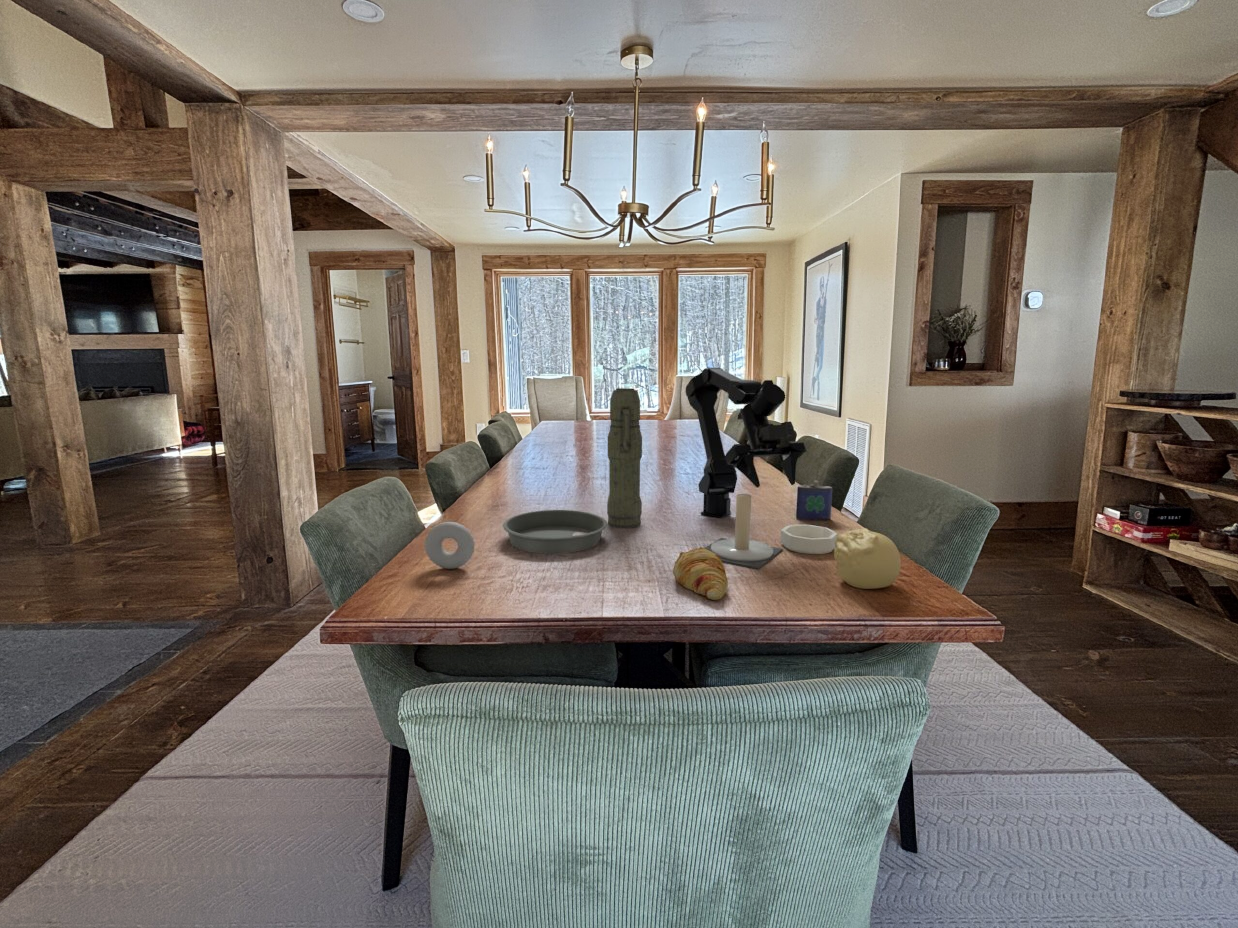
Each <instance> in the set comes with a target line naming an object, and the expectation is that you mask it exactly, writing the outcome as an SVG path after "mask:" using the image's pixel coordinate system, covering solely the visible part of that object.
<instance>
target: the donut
mask: <svg viewBox="0 0 1238 928" xmlns="http://www.w3.org/2000/svg"><path fill="white" fill-rule="evenodd" d="M446 539H451V540H454V541H455V542H456V543H457V544H456V545H457V548H456V550H455V551H453V552H448V551H446V550H445V549H444V547H443V542H444V541H445V540H446ZM474 540H475V539H474V536H473V535H472V532H471V531H470V530H469V529H468V528H467V527H466V526H465V525H462V524H460V523H458V522H454V521H445V522H444V521H443V522H441V523H438V524H437V525H435V526H433V527H432V528H431V529H430V530H429V531H428V533H427V536H426V538H425V541H424V542H425V543H424V549H425V552H426V555H427V557H428V559H429V560H430V562H432V563H433V564H435V565H436V566H438V567H439V568H442V569H447V570H455V569H458V568H460V567H462V566H465V565H466V564H467V563H468V562H469V561H470V560H471V559H472V557H473V554H474V552H475V541H474Z"/></svg>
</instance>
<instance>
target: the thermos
mask: <svg viewBox="0 0 1238 928" xmlns="http://www.w3.org/2000/svg"><path fill="white" fill-rule="evenodd" d="M609 420H610V425H609V432H608V434H607V458H608V461H609V462H608V463H609V468H608V469H609V471H608V472H609V478H608V479H609V482H608V483H609V494H608V498H607V502H606V504H607V507H606V509H607V517H608V519H607V525H608V526H611V527H613V528H619V529H631V528H636V527H639V526H641V524H642V521H641V520H642V517H641V516H642V514H643V513H642V511H643V510H642V508H643V505H642V504H643V503H642V499H641V493H640V491H641V488H640V487H641V486H640V485H641V459H642V456H643V436H642V431H641V425H640V420H641V399H640V396H639V392H638V390H636V389H635V388H630V387H629V388H628V387H627V388H626V387H625V388H622V387H621V388H616V389H615V390H612V393H611V397H610V401H609Z"/></svg>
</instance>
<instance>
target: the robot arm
mask: <svg viewBox="0 0 1238 928" xmlns="http://www.w3.org/2000/svg"><path fill="white" fill-rule="evenodd" d="M721 390H722V391H723V392H725V393H727V394H728V395H727V397H728V398H727V399H729V400H730V401H731V403H733V404H734V405H744V406H743V408H740V409H739V413H738V414H737V420H739V421H740V420H742V422H743V425H744V429H745V432H746V434H745V435H744V440H746V441H749V443H734V444H733V445H732V446H731V447H730V449H729V450H727V452H726V454H725V450H724V447H723V442H722V437H721V432H720V428H719V423H718V420H717V414H716V409H715V406H716V404H717V400H718V398H719V397H718V393H719V392H720V391H721ZM685 395H686V397H687V399H688V403H689V405H690V407H692V408H693V410H694V411H695V412H696V413H697V419H698V422H699V427H700V431H701V436H702V441H703V442H702V443H703V446H704V451H705V456H706V463H705V465H704V467H703V476H702V478H701V479H700V481H699V483H698V484H697V485H698V491H699V492H700V493H702V494H703V506H702V507H703V508H702V509H703V511H701V512H700V515H703V516H708V517H715V518H720V519H721V518H724V517H725V516H728V515H730V514H731V513H732V512H731V503H732V502H731V497H730V494H731V493H732V494H734V493H735V490H736V487H737V486H736V485H737V483H738V482H737V481H738V474H737V470H738V471H739V472H741V474H743V475H744V476H745V477H746V478H747V479H748V481H750V483H751V484H753V485H754V487H755V488H756V489H757V488H760V487H761V484H760V479H759V476H758V475H759V474H758V473H757V470H756V466H755V464H754V463H755V462H754V461H755V458H758V457H759V458H761V457H764V458H765V457H775V456H776V457H779V460H781V462H780V465H781V468H782V470H783V472H784V474H785V476H786V479H787V481H788V482H789V483H790V486H794V485H795V484H796V470H797V462H798V459H800V457H801V456H802V455H804V453H806V452H807V448H806V444H805V443H804V442H803V441H801V440H797V441H796V440H795V441H793V440H792V441H787V442H786V443H785V444H784V445H783V446H782V447H778V446H779V445H780V444H781V443H782V440H785V439H786V440H788V439H789V436H790V437H791V436H793V435H794V434H795V429H794V425H793V422H792V421H784V422H781V424H773V423H770V421H769V418H768V417H769V416H772V414H774V413H775V411H776V410H778V408H779V407H780V406H781V405H782V404H783V403H784V402H785V400H786V393H785V391H784V390H783V389H782V388H781V386H779V385H777V384H775V383H774V381H773V380H772V379H764V380H763V382H762V383H761V382H760V380H754V379H745V378H744V379H743V378H739V377H738V376H735V375H734V374H732V373H730V372H728V371H726V370H724V369H723V368H721V367H720V366H717V367H711V366H710V367H706V368H704V369H702V371H701V372H700V373H698V374H697V375H695V376H694V377H692V378H690V380H689V382H688V383H687V384H686V386H685ZM736 469H737V470H736Z"/></svg>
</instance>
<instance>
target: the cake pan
mask: <svg viewBox="0 0 1238 928" xmlns="http://www.w3.org/2000/svg"><path fill="white" fill-rule="evenodd" d="M607 525H608V520H606V519H605V518H604V517H603V516H600V515H598V514H595V513H591V512H588V511H582V510H571V509H545V510H537V511H536V510H535V511H528V512H523V513H519V514H516V515H514V516H511V517H509V518H507V519H506V520H504V521H503V524H502V527H503V530H504V531H505V532H506V533H507V534H508V537H509V541H510V544H511V545H512V546H513V547H514V548H516V549H518V550H521V551H525V552H528V553H529V552H530V553H537V554H564V553H565V554H566V553H573V552H579V551H584V550H587V549H590V548H592V547H594V546H596V545H597V544H598V543H599V542H600V540H601V536H602V532H603V531H604V530H605V529H606V528H607ZM579 531H587V532H586V533H582V534H577V535H574V534H575V533H577V532H579Z"/></svg>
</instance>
